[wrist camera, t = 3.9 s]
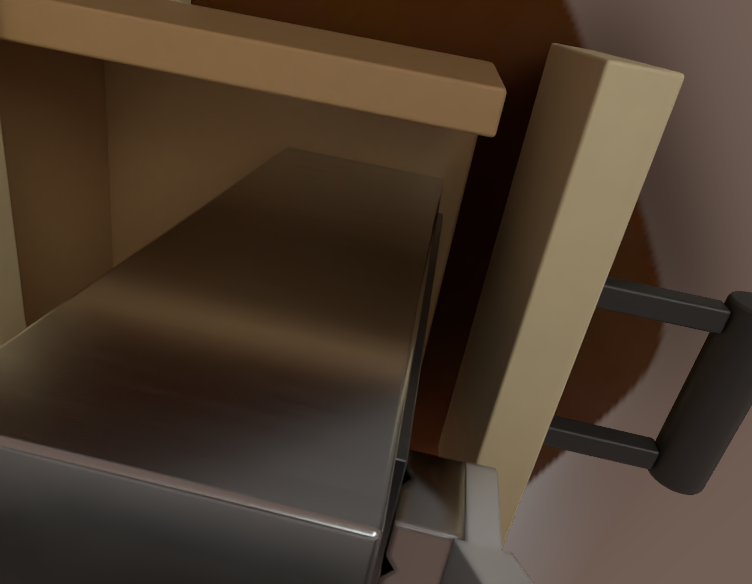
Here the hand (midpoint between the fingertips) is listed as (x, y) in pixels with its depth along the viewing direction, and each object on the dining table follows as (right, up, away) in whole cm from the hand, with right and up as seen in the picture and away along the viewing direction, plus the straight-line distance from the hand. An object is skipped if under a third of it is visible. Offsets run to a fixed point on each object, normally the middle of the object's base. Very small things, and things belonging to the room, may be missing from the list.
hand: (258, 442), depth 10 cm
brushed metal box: (+1, +3, +7) cm, 8 cm away
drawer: (+2, +4, +8) cm, 9 cm away
